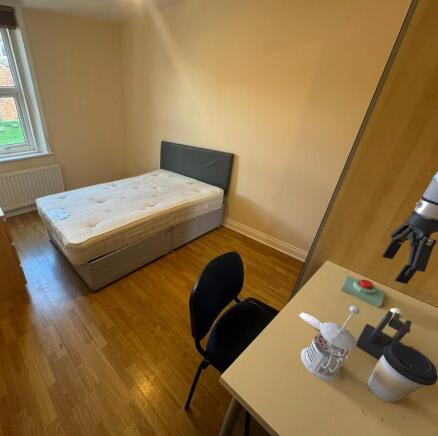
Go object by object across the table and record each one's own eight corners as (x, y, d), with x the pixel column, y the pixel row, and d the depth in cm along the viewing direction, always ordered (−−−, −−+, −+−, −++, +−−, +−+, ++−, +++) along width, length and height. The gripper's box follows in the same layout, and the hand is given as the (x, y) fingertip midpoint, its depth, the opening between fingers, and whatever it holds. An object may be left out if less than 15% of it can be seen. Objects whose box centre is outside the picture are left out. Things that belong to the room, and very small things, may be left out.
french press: (338, 358, 70) (378, 302, 58) (341, 395, 62) (388, 339, 50) (301, 341, 75) (331, 286, 63) (299, 374, 67) (332, 318, 54)
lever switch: (387, 312, 79) (393, 305, 78) (400, 319, 77) (406, 311, 76) (385, 325, 69) (391, 317, 68) (399, 333, 67) (406, 324, 66)
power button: (372, 286, 91) (374, 282, 90) (370, 290, 88) (372, 287, 88) (360, 281, 93) (362, 278, 92) (358, 285, 91) (360, 282, 90)
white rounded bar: (322, 335, 77) (325, 329, 76) (297, 318, 83) (300, 313, 81) (326, 330, 79) (329, 324, 77) (301, 313, 84) (304, 308, 83)
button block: (382, 295, 91) (387, 287, 89) (379, 308, 86) (384, 300, 84) (345, 279, 99) (349, 272, 97) (340, 290, 94) (344, 282, 92)
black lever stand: (364, 326, 80) (383, 300, 73) (400, 346, 73) (424, 320, 67) (354, 345, 74) (373, 319, 68) (392, 368, 68) (417, 342, 61)
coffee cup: (359, 392, 63) (387, 361, 55) (360, 364, 69) (385, 333, 61) (407, 420, 57) (446, 391, 50) (404, 387, 63) (438, 357, 56)
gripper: (398, 197, 80) (369, 246, 90) (432, 232, 61) (391, 289, 71) (428, 201, 76) (395, 252, 87) (474, 240, 57) (424, 298, 68)
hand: (393, 269), depth 79 cm, fingers open, 13 cm apart
